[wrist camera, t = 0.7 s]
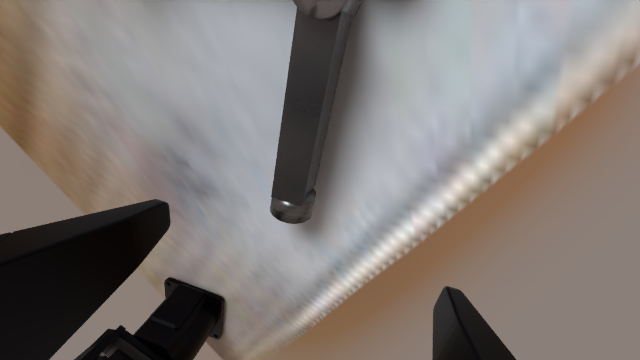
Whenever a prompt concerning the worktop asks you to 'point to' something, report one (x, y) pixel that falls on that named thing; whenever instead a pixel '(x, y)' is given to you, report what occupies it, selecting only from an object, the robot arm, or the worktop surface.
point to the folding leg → (308, 103)
